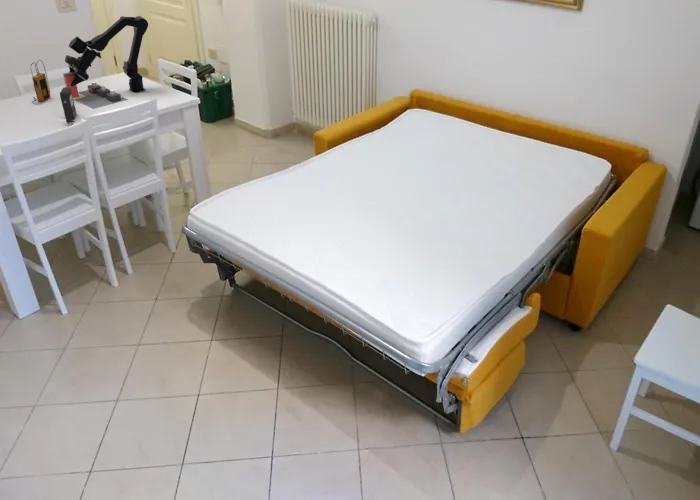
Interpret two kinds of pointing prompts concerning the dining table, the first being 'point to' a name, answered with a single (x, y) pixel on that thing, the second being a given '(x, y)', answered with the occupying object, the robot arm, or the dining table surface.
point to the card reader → (68, 104)
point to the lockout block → (68, 80)
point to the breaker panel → (98, 96)
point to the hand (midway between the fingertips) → (69, 83)
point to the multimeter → (41, 86)
